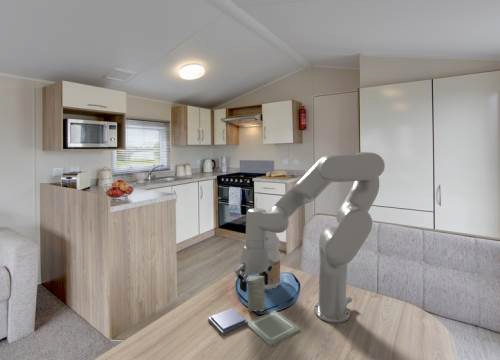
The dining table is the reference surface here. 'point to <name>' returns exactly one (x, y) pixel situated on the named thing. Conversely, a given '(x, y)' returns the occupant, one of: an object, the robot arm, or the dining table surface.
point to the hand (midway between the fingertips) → (254, 286)
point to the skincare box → (256, 293)
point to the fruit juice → (273, 259)
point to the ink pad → (227, 321)
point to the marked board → (272, 327)
